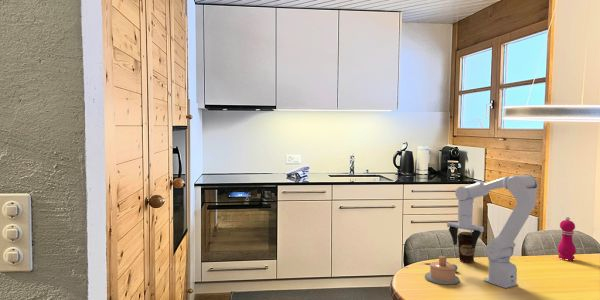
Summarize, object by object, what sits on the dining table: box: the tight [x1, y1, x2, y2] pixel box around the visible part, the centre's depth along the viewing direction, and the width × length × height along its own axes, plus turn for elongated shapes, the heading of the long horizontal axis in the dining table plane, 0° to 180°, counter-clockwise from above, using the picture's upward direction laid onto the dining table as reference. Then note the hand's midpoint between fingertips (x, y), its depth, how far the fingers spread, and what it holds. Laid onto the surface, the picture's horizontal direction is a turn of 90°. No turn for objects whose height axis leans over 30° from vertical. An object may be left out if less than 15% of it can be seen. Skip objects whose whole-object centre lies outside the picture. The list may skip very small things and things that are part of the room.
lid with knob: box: [429, 255, 456, 281], centre depth 160 cm, size 10×10×8 cm
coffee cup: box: [457, 231, 476, 263], centre depth 183 cm, size 9×8×13 cm
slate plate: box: [424, 271, 460, 286], centre depth 159 cm, size 13×13×1 cm
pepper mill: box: [557, 216, 577, 260], centre depth 187 cm, size 7×7×20 cm
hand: (464, 246), depth 170 cm, fingers open, 7 cm apart
